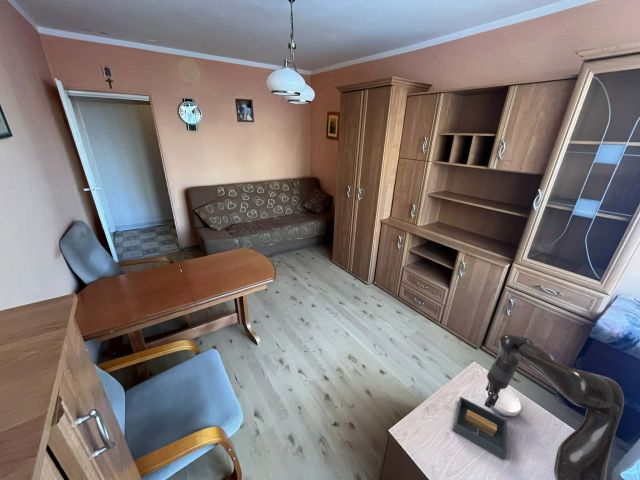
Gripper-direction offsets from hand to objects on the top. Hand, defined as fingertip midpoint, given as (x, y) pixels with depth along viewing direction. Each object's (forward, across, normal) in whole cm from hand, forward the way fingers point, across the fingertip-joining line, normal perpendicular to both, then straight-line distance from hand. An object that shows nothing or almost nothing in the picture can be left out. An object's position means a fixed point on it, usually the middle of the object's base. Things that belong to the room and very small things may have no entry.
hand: (487, 398), depth 116 cm
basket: (+19, -2, -2) cm, 19 cm away
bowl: (+19, +16, -10) cm, 27 cm away
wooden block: (+18, -2, -2) cm, 19 cm away
